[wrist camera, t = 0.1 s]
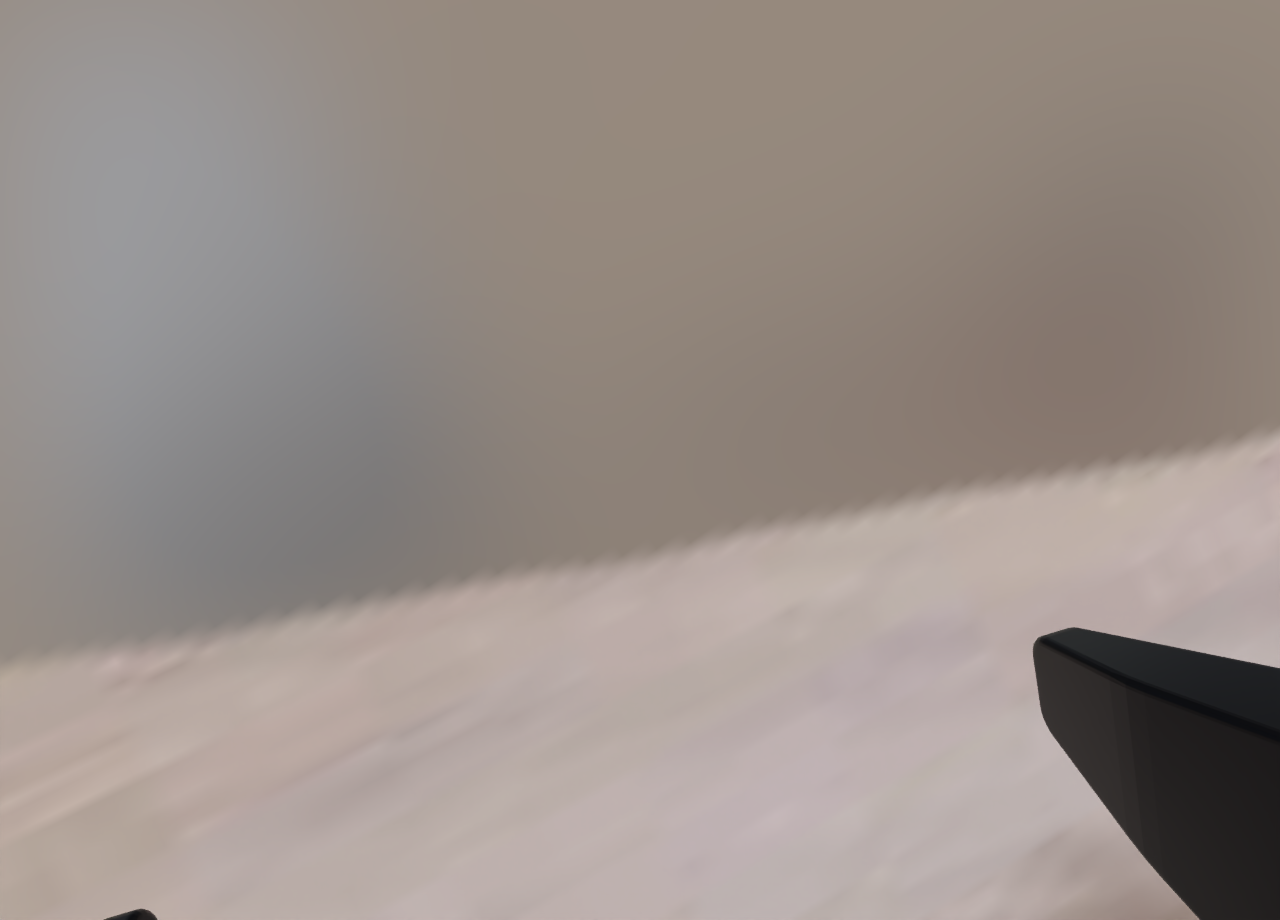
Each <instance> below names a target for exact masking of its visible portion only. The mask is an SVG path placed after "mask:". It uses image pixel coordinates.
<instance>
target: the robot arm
mask: <svg viewBox="0 0 1280 920" xmlns="http://www.w3.org/2000/svg"><path fill="white" fill-rule="evenodd" d="M1033 658H1034V665H1035V672H1036V679H1037V686H1038V693H1039V700H1040V707H1041V712H1042V715H1043V718H1044V720H1045V723H1046V725H1047V727H1048V729H1049V730H1050V732H1051V733H1052V735H1053V736H1054V738H1055V739H1056V740H1057V742H1058V743H1059V744H1060V746H1061V747H1062V748H1063V750H1064V751H1065V752H1066V754H1067V755H1068V756H1069V758H1070V759H1071V761H1072V762H1073V763H1074V765H1075V766H1076V767H1077V769H1078V770H1079V771H1080V773H1081V774H1082V775H1083V777H1084V778H1085V779H1086V781H1087V782H1088V783H1089V785H1090V786H1091V787H1092V789H1093V790H1094V792H1095V793H1096V794H1097V796H1098V797H1099V798H1100V800H1101V801H1102V802H1103V804H1104V805H1105V806H1106V808H1107V809H1108V810H1109V812H1110V813H1111V814H1112V816H1113V817H1114V818H1115V820H1116V821H1117V823H1118V824H1119V825H1120V827H1121V828H1122V829H1123V831H1124V832H1125V833H1126V835H1127V836H1128V837H1129V839H1130V840H1131V841H1132V842H1133V844H1134V845H1135V846H1136V848H1137V849H1138V850H1139V851H1140V853H1141V854H1142V855H1143V856H1144V858H1145V859H1146V860H1147V861H1148V862H1149V863H1150V865H1151V866H1152V867H1153V868H1154V869H1155V870H1156V872H1157V873H1158V874H1159V875H1160V876H1161V877H1162V878H1163V880H1164V881H1165V882H1166V883H1167V884H1168V885H1169V886H1170V887H1171V888H1172V889H1173V891H1174V892H1175V893H1176V894H1177V895H1178V896H1179V897H1180V898H1181V899H1182V900H1183V902H1184V903H1185V904H1186V905H1187V906H1188V907H1189V908H1190V909H1191V910H1192V911H1193V913H1194V914H1195V915H1196V916H1197V917H1198V918H1199V919H1200V920H1280V668H1275V667H1270V666H1266V665H1261V664H1256V663H1251V662H1246V661H1241V660H1236V659H1231V658H1226V657H1221V656H1216V655H1211V654H1206V653H1201V652H1196V651H1191V650H1186V649H1181V648H1176V647H1171V646H1166V645H1161V644H1156V643H1151V642H1146V641H1141V640H1136V639H1131V638H1126V637H1121V636H1116V635H1111V634H1106V633H1101V632H1096V631H1091V630H1086V629H1081V628H1075V627H1073V628H1067V629H1064V630H1060V631H1057V632H1054V633H1050V634H1047V635H1044V636H1041V637H1039V638H1038V639H1037V640H1036V641H1035V643H1034V646H1033ZM104 920H157V918H156V917H155V915H154V914H153V913H152V912H150V911H148V910H145V909H137V910H133V911H130V912H127V913H123V914H120V915H117V916H113V917H110V918H107V919H104Z"/></svg>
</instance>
